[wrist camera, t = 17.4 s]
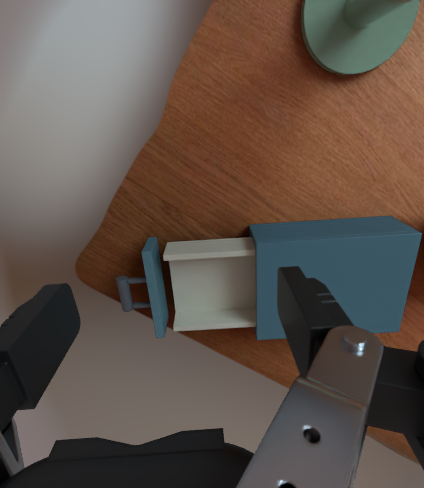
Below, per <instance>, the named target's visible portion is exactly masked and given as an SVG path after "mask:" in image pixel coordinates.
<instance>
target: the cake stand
mask: <svg viewBox="0 0 424 488" xmlns="http://www.w3.org/2000/svg"><path fill="white" fill-rule="evenodd" d="M418 7H419V0H303V2H302V8H301V30H302V36H303V40H304V43H305V46H306V48H307V50H308V52H309V54H310V55H311V57H312V58H313V59H314V61H315V62H316V63H317V64H318V65H320V66H321V67H322V68H324V69H325V70H327V71H329V72H331V73H335V74H339V75H354V74H359V73H362V72H366V71H369V70H371V69H373V68H376V67H377V66H379V65H381V64H382V63H384V62H385V61H386V60H388V59H389V58H390V57H391V56H392V55H393V54H394V53H395V52H396V51H397V50H398V48H399V47H400V46H401V45H402V43H403V42H404V40H405V39H406V37H407V35H408V34H409V32H410V30H411V28H412V26H413V23H414V21H415V18H416V15H417V11H418Z"/></svg>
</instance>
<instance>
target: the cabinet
mask: <svg viewBox="0 0 424 488" xmlns="http://www.w3.org/2000/svg"><path fill="white" fill-rule="evenodd" d="M249 237H252V239H253V242H254V245H255V267H256V327H254V330H255V334H256V339H257V340H266V339H283V338H287V337H286V335H285V332H284V329H283V327H282V324H281V321H280V318H279V315H278V309H277V273H278V268H279V267H290V266H299V267H300V268H301V270H302V272H303V273H304V275H305V276H306V278H316V279H317V280H319V281H320V282H322V283H323V284H325V285H326V287H327V288H328V289H329V291H330V292H331V295H333V296H334V298H335V299H336V302H338V303H339V305H340V306H341V308H342V309H343V310H344V312H345V313H346V315H347V316H348V317H349V319H350V320H351V322H352V323H353V324H354V326H356V327H359V328H362V329H365V330H367V331H369V332H371V333H386V332H399V329H400V325H401V321H402V316H403V312H404V308H405V304H406V300H407V295H408V291H409V287H410V283H411V279H412V274H413V270H414V266H415V262H416V258H417V253H418V249H419V245H420V241H421V237H422V233H421V232H419V231H417V230H416V229H414V228H412V227H410V226H408V225H406V224H405V223H403V222H401V221H399V220H397V219H396V218H393V217H392V216H379V217H363V218H347V219H331V220H316V221H300V222H284V223H268V224H252V225H249Z"/></svg>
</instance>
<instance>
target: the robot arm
mask: <svg viewBox="0 0 424 488" xmlns="http://www.w3.org/2000/svg"><path fill="white" fill-rule="evenodd" d="M277 309H278V315H279V318H280V321H281V324H282V327H283V329H284V332H285V335H286V337H287V340H288V343H289V345H290V348H291V351H292V354H293V356H294V359H295V362H296V364H297V367H298V370H299V372H300V375H301V376H300V375H299V376H298V377H297V378H296V379H295V381H294V382H293V384H292V386H291V388H290V390H289V392H288V393H287V395H286V397H285V399H284V400H283V402H282V404H281V406H280V408H279V410H278V412H277V413H276V415H275V417H274V419H273V421H272V422H271V424H270V426H269V428H268V430H267V432H266V433H265V436H264V437H263V439H262V441H261V443H260V444H259V446H258V448H257V450H256V452H255V454H254V453H252V452H250V451H248V450H246V449H244V448H242V447H239V446H236V445H233V444H229V443H225V442H224V434H223V428H219V429H204V430H190V431H181V432H178V433H175V434H172V435H169V436H166V437H163V438H160V439H157V440H153V441H150V442H148V443H144V444H141V445H130V444H125V443H121V442H116V441H111V440H107V439H102V438H97V437H96V438H82V439H69V440H56V442H55V444H54V446H53V448H52V450H51V453H50V455H49V457H47V458H44V459H42V460H40V461H38V462H35V463H33V464H31V465H29V466H28V467H26V468H24V463H23V458H22V453H21V448H20V442H19V437H18V432H17V427H16V423H15V421H14V419H13V416H14V414H15V413H16V411H17V410H26V409H35V407H36V405H37V403H38V402H39V400H40V398H41V397H42V395H43V393H44V391H45V390H46V388H47V386H48V385H49V383H50V381H51V379H52V378H53V376H54V374H55V372H56V371H57V369H58V367H59V366H60V364H61V362H62V360H63V358H64V357H65V355H66V353H67V352H68V350H69V348H70V346H71V345H72V343H73V341H74V340H75V338H76V336H77V334H78V332H79V329H80V316H79V313H78V309H77V306H76V303H75V300H74V297H73V293H72V290H71V287H70V286H69V285H68V284H67V283H64V284H52V285H45V286H44V287H43V288H42V289H41V290H40V291H39V292H38V293H37V294H36V295H35V296H34V297H33V298H32V299H30V300H29V301H27V302H26V303H24V304H23V305H21V306H20V307H18V308H17V309H16V310H15V311H14V312H13V313H12V314H11V315H10V316H9V319H6V320H5V322H4V323H3V324H2V325H1V327H0V488H353V484H354V480H355V476H356V472H357V468H358V464H359V460H360V456H361V452H362V448H363V444H364V440H365V436H366V432H367V428H368V426H372V427H376V428H381V429H385V430H389V431H394V432H398V433H402V434H404V436H405V437H406V439H407V441H408V443H409V445H410V446H411V448H412V450H413V452H414V454H415V455H416V457H417V459H418V461H419V462H420V464H421V466H422V468H423V470H424V340H423V341H422V342H421V343H420V344H419V347H418V351H417V352H415V351H409V350H402V349H396V348H390V347H386V346H383V345H382V343H381V341H380V340H379V339H378V338H377V337H376V336H375V335H374V334H372V333H371V332H369V331H367V330H365V329H362V328H359V327H356V326H354V324H353V323H352V322H351V320H350V319H349V317H348V316H347V315H346V313H345V312H344V310H343V309H342V308H341V306H340V305H339V303H338V302H336V299H335V298H334V296H333V295H331V292H330V291H329V289H328V288H327V287H326V285H325V284H323V283H322V282H320V281H319V280H317V279H316V278H306V276H305V275H304V273H303V272H302V270H301V268H300V267H299V266H290V267H279V268H278V273H277Z"/></svg>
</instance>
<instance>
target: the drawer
mask: <svg viewBox="0 0 424 488" xmlns="http://www.w3.org/2000/svg"><path fill="white" fill-rule="evenodd" d="M141 253H142V259H143V264H144V270H145V276H146V277H137V278H128V277H127V276H119V277H117V278H116V282H117V286H118V291H119V295H120V300H121V304H122V308H123V311H125V312H129V311H131V310H132V309H133V308H147V307H151V310H152V316H153V322H154V327H155V333H156V338H163V337H165V332H166V327H167V322H168V317H169V315H168V309H167V302H166V295H165V288H164V282H163V275H162V268H161V261H160V255H159V248H158V241H157V237H149V238H148V240H147V242H146V244H145V246H144V248H143V250H142V252H141ZM163 259H164V261H169V266H170V274H171V281H172V289H173V296H174V303H175V311H176V313H175V319H174V326H173V329H174V331H190V330H207V329H224V328H241V327H256V267H255V245H254V242H253V239H252V237H244V238H228V239H212V240H196V241H180V242H167V245H166V248H165V251H164V254H163ZM132 283H147V287H148V293H149V299H150V302H137V303H133V302H132V297H131V292H130V287H129V284H132Z"/></svg>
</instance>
